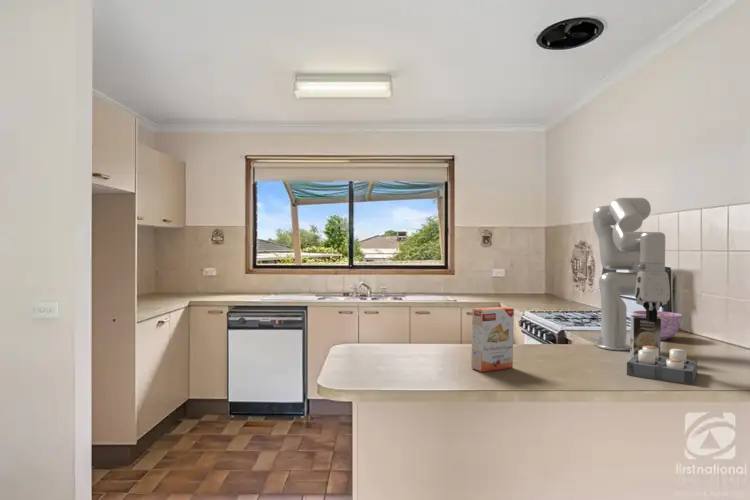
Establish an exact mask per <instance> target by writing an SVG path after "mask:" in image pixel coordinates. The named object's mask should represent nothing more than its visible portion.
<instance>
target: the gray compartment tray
mask: <svg viewBox="0 0 750 500" xmlns="http://www.w3.org/2000/svg"><path fill="white" fill-rule="evenodd" d="M667 359H669V357H667V356H662V355H660V356H659V361H657V360H655V365H650V364H642V363H638V354H636V355H635V356H634V357H632V358H631V357H630V359H628V361H627V362H626V376H630V377H631V376H632V377H638V378H645V379H651V380H657V381H658V380H660V381H665V382H673V383H680V384H685V383H686V384H687V385H693V383H694V381H695V378H696V376H697V373H698V360H694V359H693V360H692V359H686V364H684V369H680V368H673V367H666V360H667Z"/></svg>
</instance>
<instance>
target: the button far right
mask: <svg viewBox="0 0 750 500" xmlns="http://www.w3.org/2000/svg"><path fill="white" fill-rule="evenodd" d="M669 359H679V360H682V361H684V364H686V360H687V351H686V350H684V349H682V348H671V349H669Z"/></svg>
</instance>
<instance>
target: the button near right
mask: <svg viewBox="0 0 750 500" xmlns="http://www.w3.org/2000/svg"><path fill="white" fill-rule="evenodd" d="M666 367H673V368H680V369H684V361H682V360H679V359H667V360H666Z"/></svg>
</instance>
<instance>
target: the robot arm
mask: <svg viewBox="0 0 750 500" xmlns="http://www.w3.org/2000/svg"><path fill="white" fill-rule="evenodd" d="M651 207H652V206H651V203H650V201H648V199H646V198H644V197H619V198H615V199H614V200H612V201H611V203H610V204H609V205H602V206H598V207H596V208H595V209H594V211H593V213H592V225H593V228H594V231H595V232H596V236H597V240H598V248H599V255H600V257H599V258H600V264H601V266H602V268H603V269H606V270H611V271H610V272H605V273H602V274H601V275H600V276H599V279H598V287H599V292H600V301H601V302H600V308H601V310H600V317H601V318H600V335H598V336H596V335H590V337H589V340H590V341H591V342H592V341H593V342H597V343H596V347H598V348H600V349H602V350H611V351H630V344H627V312H628V311H627V305H626V302H625V301H624V300H623V299H622V297H621V296H635V299H636V302H635V303H636V305H640V306H642V307H643V309H644V310H645V311H646V321H649V322H657V311H659V310H660V308H661V307H662V306H664V305H667V304H668V302H669V301H670V299H671V289H670V287H671V286H670V279H669V278H670V277H669V274H668V272H666V235H665V233H664V232H661V231H638V230H639V229H640V228H641V227H642V224H643V221H645V220H646V219H648V217H650V214H651V210H652V208H651ZM612 226H613V227H612ZM612 270H614V271H612ZM615 270H617V272H616V271H615ZM624 271H628V272H624Z"/></svg>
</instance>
